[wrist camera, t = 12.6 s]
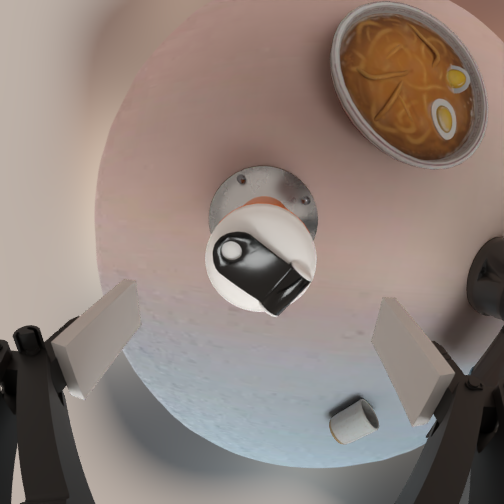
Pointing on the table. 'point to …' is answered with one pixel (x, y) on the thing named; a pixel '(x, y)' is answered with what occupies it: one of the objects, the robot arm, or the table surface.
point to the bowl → (409, 85)
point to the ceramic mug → (354, 422)
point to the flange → (264, 194)
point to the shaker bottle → (261, 257)
